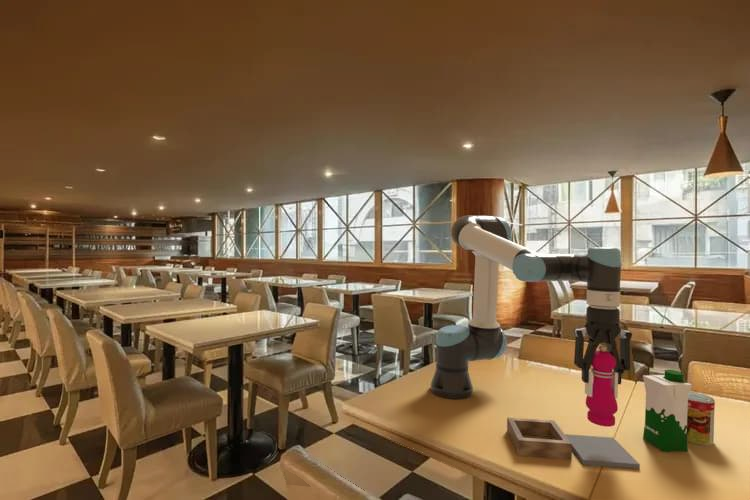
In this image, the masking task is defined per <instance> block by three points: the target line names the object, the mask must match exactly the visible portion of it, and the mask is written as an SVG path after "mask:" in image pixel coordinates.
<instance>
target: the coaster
mask: <svg viewBox="0 0 750 500" xmlns="http://www.w3.org/2000/svg"><path fill="white" fill-rule="evenodd" d="M564 434H565V433H564ZM565 435H566V437H567V438H568V439H569V441H570V442H571V443H572V452H573V451H574V452H573V453H574V454H575V456H576V455H577V456H576V457H577V458H578V459H580V460H579V461H580V462H581V464H582V465H585V466H595V467H609V468H619V469H620V468H621V469H632V470H633V469H634V470H640V467H641V463H639V462H638V460H637V459H636V458H634V457H633V456H632V455H631V454H630V452H628V451H627V450H626V449H625V448H624V447H623V446H622V445H621V444H620V443H619V442H618V441H617V440H616V439H615V438H614V437H611V436H610V437H609V436H599V435H597V436H596V435H595V436H594V435H583V434H568V433H566V434H565Z"/></svg>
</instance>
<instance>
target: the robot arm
mask: <svg viewBox="0 0 750 500" xmlns="http://www.w3.org/2000/svg"><path fill="white" fill-rule="evenodd" d="M450 237H451V239H452V241H453V243H454V244H456V245H457V246H458V247H460V248H462V249H464V250H467V251H469V250H471V253H472V254H473V255H474V257H475V259H474V262H475V263H474V280H473V281H474V283H473V284H474V285H473V287H474V288H473V308H472V319H470V320H469V321H468V326H466V325H462V324H461V325H460V324H459V325H458V324H457V325H455V324H454V325H453V324H452V325H445V326H443V327H441V328H439V329H438V331H437V332H436V339H435V345H436V347H435V348H436V349H435V353H436V354H435V355H436V356H435V357H436V358H435V371H434V373H433V377H432V378H431V382H430V391H431V393H433V394H434V395H435V396H438V397H441V398H446V399H450V400H451V399H452V400H460V399H462V400H463V399H467V398H470V397H472V396H473V394H474V388H473V386H474V385H473V384H472V380H471V376H470V373H469V362H475V361H485V360H486V361H487V360H488V361H489V360H493V359H497V358H500V357H501V356H502V355H503V354H504V353H505V351H506V347H507V336H505V332H504V330H503V329H502V328H501V324H500V323H499V321H497V311H498V294H499V293H498V289H499V272H500V271H499V269H500V267H499V266H500V265H501V266H503V267H505V268H507V269H509V270H511V271H512V273H513V275H514V276H515V278H516V279H517V280H518V281H521V282H528V283H537V282H561V281H562V282H563V281H564V282H565V281H570V282H572V281H573V282H581V283H582V282H583V283H586V304H587V305H588V306H586V310H585V311H586V312H585V313H586V315H585V316H586V317H585V319H586V321H585V322H586V323H585V325H584V327H581V328H574V329H573V333H574V336H575V340H574V342H575V344H574V357H573V364H574V365H575V366H576V367H577V368H578V369H581V380H582V382H583V383H584V394H586V396H587V395H588V396H589V397H592V388H593V372H592V370H591V368H592V365H591V364H592V361H593V358H594V355H595V352H596V351H597V349H598V348H599V346H600V344H604V343H605V346H606V347H607V352H609V353H611V354H612V355H613V356H614V357H615V359H616V366H615V368H614V369H613V370H612V371H613V372H614V373H613V377H612V379H611V388H612V392H613V394H614V397H615V399H618V395H619V390H618V389H619V385H622V375H623V374H624V373H625V371H630V370H631V339H632V337H633V333H632V332H631V331H629V330H626V329H622V328H621V326H620V323H621V322H620V321H621V317H620V316H621V311H620V309H619V307H620V306H621V277H622V276H621V275H622V267H623V266H622V265H623V264H622V258H621V257H622V255H621V253H622V252H621V250H620V248H617V247H589V248H588V249H587V254H578V253H577V254H575V253H563V252H561V253H541V252H540V253H539V252H537V251H534V250H531V249H529V248H527V247H525V246H522V245H521V244H518V243H516V242H513V241H512V229H511V226H510V224H509V222H508V221H507V220H506V219H504V218H503V217H501V216H495V215H493V216H492V215H472V214H469V215H468V214H467V215H463V216H460V217H458V218H457V219H456V220H455V221H454V222H453V223H452V225H451V229H450ZM586 333H587V335H588V336H589V337H588V339H587V346H586V350H585V352H584V349H585V348H584V347H585V337H586ZM618 336H619V352H618V348H617V341H616V338H617V337H618ZM619 353H620V354H619Z"/></svg>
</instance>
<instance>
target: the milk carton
mask: <svg viewBox="0 0 750 500" xmlns="http://www.w3.org/2000/svg"><path fill="white" fill-rule="evenodd" d="M642 378H643V383H644V389H645V407H644V409H645V411H644V412H645V413H644V414H645V415H644V416H645V417H644V429H643V436H642V439H643V440H644V441H646V442H648V443H649V444H650V445H652V446H654V447H655V448H657V449H658V450H659V451H661V452H662V453H663V452H665V453H666V452H667V453H668V452H688V450H689V448H688V441H687V409H688V398H689V394H690V392H692V387H693V385H692V383H688V382H687V381H686V380H684V373H683V372H682V371H679V370H673V369H665V370H664V374H650V375H642Z"/></svg>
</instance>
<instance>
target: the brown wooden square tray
mask: <svg viewBox="0 0 750 500" xmlns="http://www.w3.org/2000/svg"><path fill="white" fill-rule="evenodd" d="M506 432H507V434H508V436H509V438H510V441H511V443H512V444H513V447H514V450H515V452H516V454H517V455H518V456H520V457H531V458H546V459H547V458H548V459H556V460H558V459H559V460H561V459H562V460H571V459H573V458H572V457H573V453H572V452H573V450H572V443H571V442H570V441H569V439H568V438H567V437H566V435H565V433H564V431H563V430H562V429H561V427H560V426H559V425H558V424H557V422H556V421H555V420H552V419H551V420H550V419H537V418H536V419H535V418H534V419H533V418H524V417H523V418H521V417H520V418H519V417H508V416H507V418H506ZM523 435H524V436H536V437H537V436H538V437H549V438H550V439H548V438H546V439H545V438H534V437H533V438H532V437H524V436H523Z"/></svg>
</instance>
